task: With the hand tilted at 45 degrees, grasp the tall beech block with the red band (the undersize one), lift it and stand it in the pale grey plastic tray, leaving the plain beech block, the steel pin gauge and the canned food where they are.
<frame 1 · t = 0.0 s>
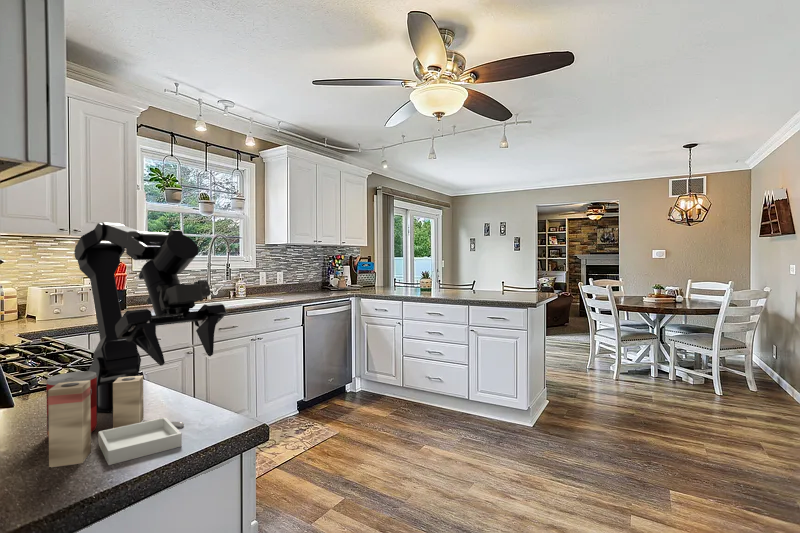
hand: (188, 359, 81), 15 cm above the countertop, tool tilted 35°, fingers open, 9 cm apart
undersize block: (70, 459, 73), on the countertop
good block: (128, 422, 90), on the countertop
canned food: (72, 433, 85), on the countertop
pin gauge: (162, 427, 88), on the countertop
tray: (139, 445, 79), on the countertop
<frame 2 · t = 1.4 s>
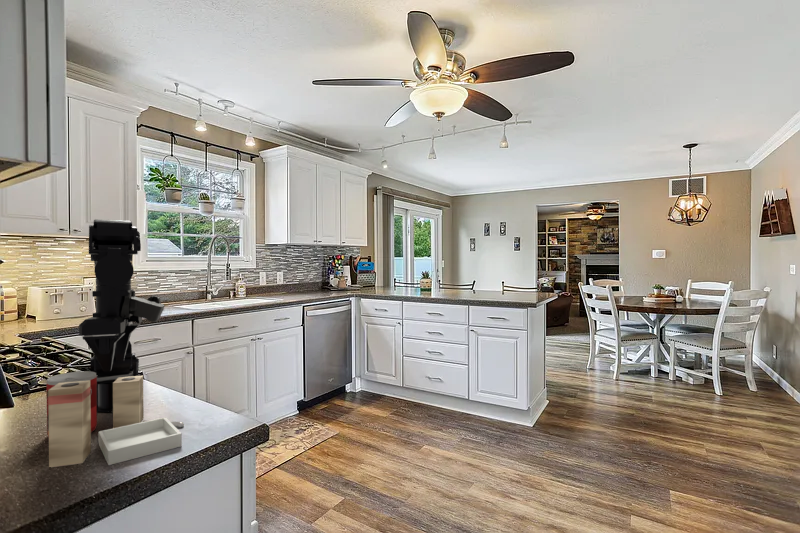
hand: (114, 365, 85), 13 cm above the countertop, tool pointing down, fingers open, 9 cm apart
nothing on the countertop moved.
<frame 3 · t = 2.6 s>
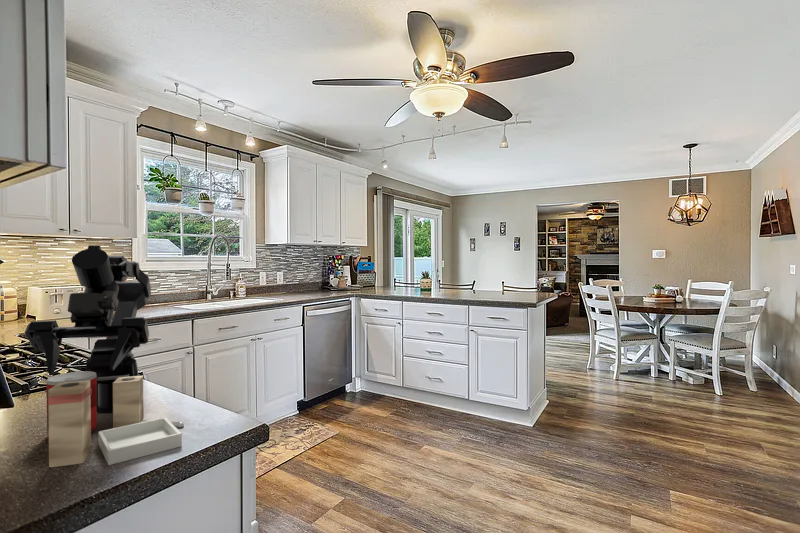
hand: (81, 371, 78), 13 cm above the countertop, tool tilted 45°, fingers open, 9 cm apart
nothing on the countertop moved.
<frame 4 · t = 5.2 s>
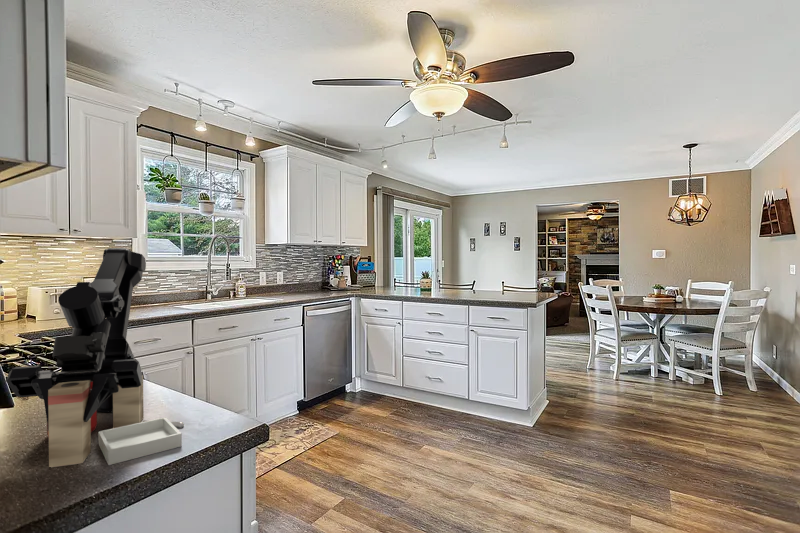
hand: (67, 422, 72), 7 cm above the countertop, tool tilted 45°, fingers closed on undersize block, 4 cm apart
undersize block: (70, 459, 73), on the countertop, touching gripper
everything else where it was.
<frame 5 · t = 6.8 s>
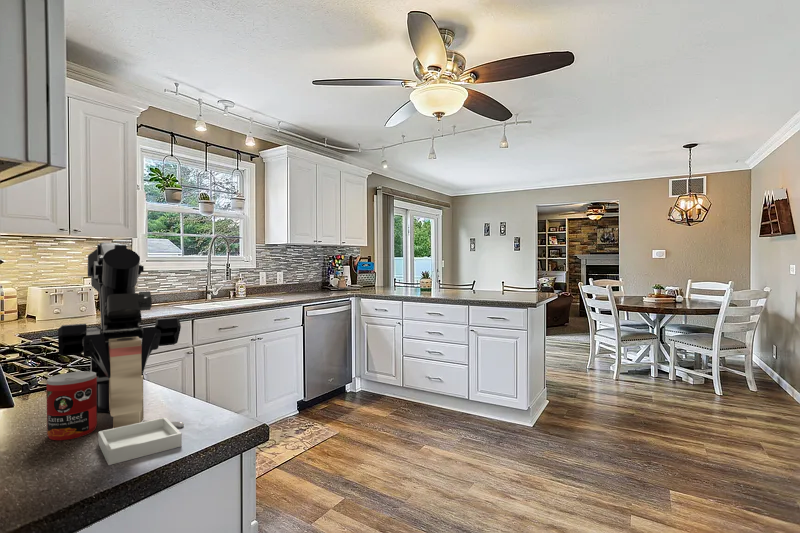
hand: (126, 374, 76), 13 cm above the countertop, tool tilted 45°, fingers closed on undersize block, 4 cm apart
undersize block: (125, 410, 77), point 7 cm above the countertop, touching gripper
everything else where it was.
when the fingers open (8 cm above the countertop, at t = 8.3 s): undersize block stays where it is, resting on tray.
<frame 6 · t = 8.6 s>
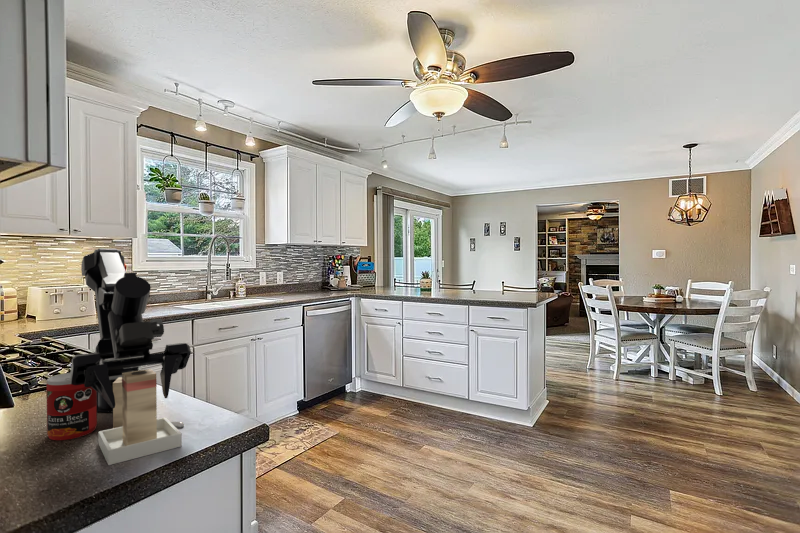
hand: (141, 401, 78), 8 cm above the countertop, tool tilted 45°, fingers open, 8 cm apart
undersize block: (139, 442, 79), resting on tray
everything else where it was.
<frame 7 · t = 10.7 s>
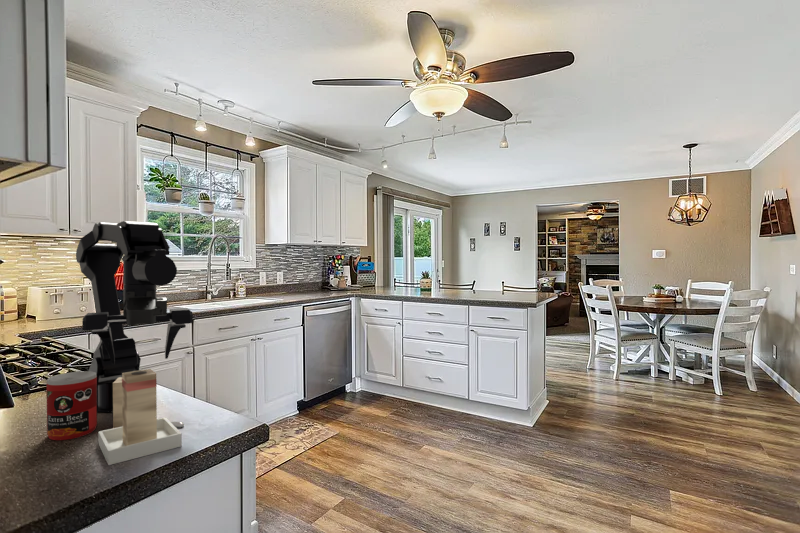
hand: (140, 361, 89), 13 cm above the countertop, tool pointing down, fingers open, 9 cm apart
nothing on the countertop moved.
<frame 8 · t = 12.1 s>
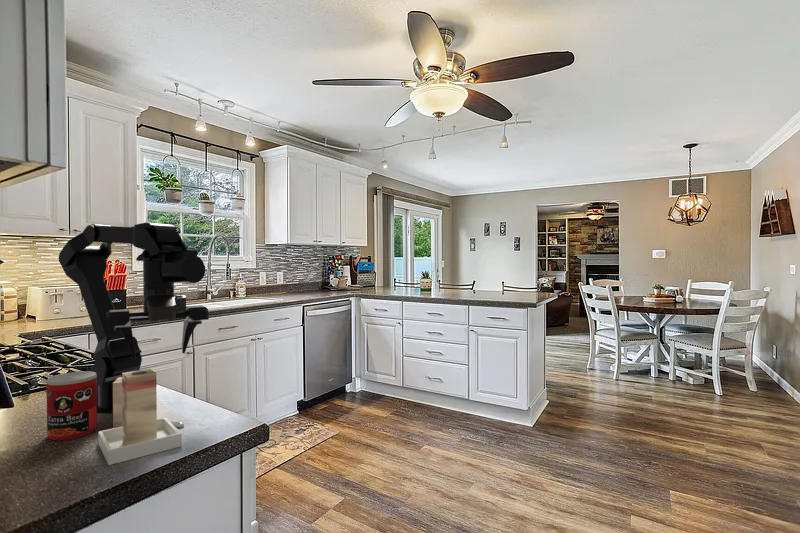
hand: (159, 355, 93), 13 cm above the countertop, tool pointing down, fingers open, 9 cm apart
nothing on the countertop moved.
at the end: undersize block inside the target area on the tray (0.0 cm from its centre), point 0.5 cm above the tray's base; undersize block tilted 0°; the gripper is holding nothing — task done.
